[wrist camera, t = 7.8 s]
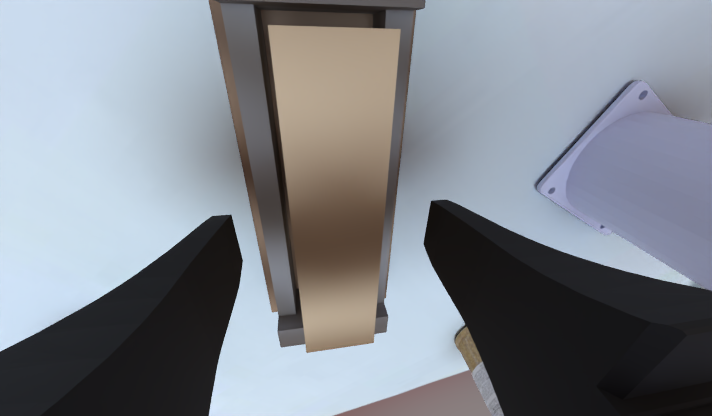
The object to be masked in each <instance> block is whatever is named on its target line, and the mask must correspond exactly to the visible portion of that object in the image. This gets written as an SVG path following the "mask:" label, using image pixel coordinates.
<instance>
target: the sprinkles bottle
mask: <svg viewBox="0 0 712 416" xmlns="http://www.w3.org/2000/svg"><path fill="white" fill-rule="evenodd" d="M455 344H456V347H457V348H458V349H459V351H460V352H461V354H462V355H463V358H464V360H465V361H466V363H467V365H468V367H469V369H470V371H471V373H472V377H473V379H474V381H475V383H476V385H477V387H478V389H479V391H480V393H481V395H482V397H483V399H484V401H485V403H486V405H487V407H488V409H489V411H490V413H491V415H492V416H504V414H503V412H502V409H501V407H500V404H499V401H498V399H497V396H496V394H495V391H494V389H493V386H492V383H491V381H490V378H489V376H488V374H487V371H486V369H485V367H484V364H483V362H482V359H481V357H480V355H479V352H478V350H477V348H476V346H475V343H474V341H473V339H472V337H471V335H470V332H469V330H468V328H467V327H465V328H464V329H463V330H462V331H461V332H460V333H459V334H458V335H457V337H456V340H455Z"/></svg>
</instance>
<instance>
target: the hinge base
mask: <svg viewBox="0 0 712 416" xmlns="http://www.w3.org/2000/svg"><path fill="white" fill-rule="evenodd" d="M209 5H210V10H211V14H212V19H213V24H214V29H215V34H216V39H217V44H218V49H219V54H220V59H221V64H222V69H223V73H224V78H225V83H226V88H227V93H228V98H229V103H230V108H231V113H232V118H233V123H234V128H235V132H236V137H237V142H238V147H239V152H240V157H241V162H242V167H243V172H244V177H245V182H246V187H247V191H248V196H249V201H250V206H251V211H252V216H253V221H254V226H255V231H256V236H257V241H258V246H259V250H260V255H261V260H262V265H263V270H264V275H265V280H266V285H267V290H268V295H269V300H270V305H271V310H272V312H278V315H279V320H278V336H279V341H280V346H281V347H287V346H294V345H301V344H305V335H304V327H303V319H302V310H301V302H300V293H299V285H298V276H297V268H296V259H295V251H294V243H293V234H292V226H291V217H290V209H289V200H288V192H287V183H286V175H285V166H284V158H283V150H282V141H281V133H280V124H279V116H278V107H277V99H276V90H275V82H274V73H273V65H272V57H271V48H270V40H269V31H268V25H285V26H317V27H349V28H380V29H401V32H400V43H399V55H398V67H397V78H396V90H395V101H394V113H393V124H392V136H391V147H390V159H389V170H388V182H387V193H386V205H385V216H384V228H383V239H382V251H381V262H380V274H379V286H378V297H377V309H376V320H375V332H374V334H377V333H384V332H386V330H387V321H388V314H387V311H386V308H385V305H384V298H386V290H387V281H388V271H389V262H390V252H391V243H392V233H393V224H394V214H395V205H396V196H397V186H398V177H399V167H400V158H401V148H402V139H403V129H404V120H405V111H406V101H407V92H408V82H409V73H410V63H411V54H412V44H413V35H414V25H415V16H416V10H419V9H423V8H425V0H209Z"/></svg>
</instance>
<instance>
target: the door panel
mask: <svg viewBox="0 0 712 416" xmlns="http://www.w3.org/2000/svg"><path fill="white" fill-rule="evenodd" d="M268 31H269V40H270V48H271V57H272V65H273V73H274V82H275V90H276V99H277V107H278V116H279V124H280V133H281V141H282V150H283V158H284V166H285V175H286V183H287V192H288V200H289V209H290V217H291V226H292V234H293V243H294V251H295V259H296V268H297V276H298V285H299V293H300V302H301V310H302V319H303V327H304V335H305V344H306V352H307V353H309V352H315V351H322V350H329V349H335V348H342V347H349V346H356V345H362V344H369V343H374V332H375V320H376V309H377V297H378V286H379V274H380V262H381V251H382V239H383V228H384V216H385V205H386V193H387V182H388V170H389V159H390V147H391V136H392V124H393V113H394V101H395V90H396V78H397V67H398V55H399V43H400V32H401V29H380V28H349V27H317V26H285V25H268Z"/></svg>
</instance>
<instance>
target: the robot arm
mask: <svg viewBox="0 0 712 416" xmlns="http://www.w3.org/2000/svg"><path fill="white" fill-rule="evenodd" d="M549 189H550V190H549ZM537 190H538V192H540V193H541V194H543V195H544V196H546V197H547V198H549V199H550V200H552V201H553V202H555V203H557V204H558V205H560V206H561V207H563V208H564V209H566V210H567V211H569V212H570V213H572V214H573V215H575V216H576V217H578V218H579V219H581V220H582V221H584V222H585V223H587V224H588V225H590V226H591V227H593V228H594V229H596V230H597V231H599V232H600V233H602V234H603V235H608V234H611V233H612V232H614V233H616V234H617V235H619V236H621V237H622V238H624V239H626V240H627V241H629V242H630V243H632V244H634V245H635V246H637V247H639V248H640V249H642V250H643V251H645V252H647V253H648V254H650V255H652V256H653V257H655V258H656V259H658V260H660V261H661V262H663V263H665V264H666V265H668V266H669V267H671V268H673V269H674V270H676V271H677V272H679V273H681V274H682V275H684V276H686V277H687V278H689V279H690V280H692V281H694V282H695V283H697V284H699V285H700V286H702V287H703V288H705V289H701V288H696V287H691V286H686V285H682V284H677V283H672V282H667V281H662V280H658V279H654V278H650V277H646V276H642V275H638V274H634V273H630V272H626V271H622V270H619V269H615V268H611V267H608V266H604V265H601V264H598V263H595V262H591V261H588V260H585V259H582V258H578V257H575V256H573V255H570V254H567V253H564V252H561V251H558V250H556V249H553V248H550V247H548V246H545V245H543V244H540V243H537V242H535V241H533V240H530V239H528V238H526V237H523V236H521V235H519V234H517V233H515V232H512V231H510V230H508V229H506V228H504V227H502V226H500V225H498V224H496V223H494V222H492V221H490V220H488V219H486V218H484V217H482V216H480V215H478V214H476V213H474V212H472V211H470V210H468V209H466V208H464V207H462V206H460V205H458V204H456V203H453V202H451V201H448V200H435V201H431V205H430V210H429V216H428V221H427V227H426V233H425V238H424V246H425V249H426V252H427V254H428V257H429V259H430V262H431V264H432V266H433V268H434V270H435V272H436V273H437V275H438V277H439V279H440V280H441V282H442V284H443V286H444V287H445V289H446V291H447V292H448V294H449V296H450V297H451V299H452V301H453V303H454V304H455V306H456V308H457V309H458V311H459V313H460V315H461V316H462V318H463V320H464V322H465V324H466V326H467V328H468V330H469V332H470V335H471V337H472V339H473V341H474V343H475V346H476V348H477V350H478V352H479V355H480V357H481V359H482V362H483V364H484V367H485V369H486V371H487V374H488V376H489V378H490V381H491V383H492V386H493V389H494V391H495V394H496V396H497V399H498V401H499V404H500V407H501V409H502V412H503V414H504V416H712V124H709V123H704V122H700V121H695V120H690V119H685V118H680V117H675V116H673V115H672V114H671V112H670V111H669V110H668V109H667V107H666V106H665V105H664V104H663V103H662V101H661V100H660V99H659V98H658V96H657V95H656V94H655V93H654V91H653V90H652V89H651V88H650V86H649V85H648V84H647V83H646V82H645V81H634V82H632V83H631V84H630V85H629V86H628V87H627V88H626V89H625V90H624V91H623V93H622V94H621V95H620V96H619V97H618V98H617V99H616V100H615V101H614V102H613V103H612V104H611V106H610V107H609V108H608V109H607V110H606V111H605V112H604V113H603V114H602V115H601V116H600V117H599V119H598V120H597V121H596V122H595V123H594V124H593V125H592V126H591V127H590V128H589V129H588V130H587V132H586V133H585V134H584V135H583V136H582V137H581V138H580V139H579V140H578V141H577V142H576V143H575V144H574V146H573V147H572V148H571V149H570V150H569V151H568V152H567V153H566V154H565V155H564V156H563V157H562V159H561V160H560V161H559V162H558V163H557V164H556V165H555V166H554V167H553V168H552V169H551V170H550V172H549V173H548V174H547V175H546V176H545V177H544V178H543V179H542V180H541V181H540V182H539V184H538V186H537ZM242 262H243V260H242V256H241V252H240V248H239V244H238V240H237V236H236V232H235V228H234V224H233V220H232V216H231V215H221V216H212V217H210V218H209V219H207V220H206V221H205V222H204V223H202V224H201V225H200V226H199V227H197V228H196V229H195V230H194V231H192V232H191V233H190V234H189V235H187V236H186V237H185V238H184V239H182V240H181V241H180V242H179V243H177V244H176V245H175V246H174V247H172V248H171V249H170V250H169V251H167V252H166V253H165V254H163V255H162V256H161V257H159V258H158V259H157V260H155V261H154V262H152V263H151V264H150V265H148V266H147V267H146V268H144V269H143V270H142V271H140V272H139V273H138V274H136V275H135V276H133V277H132V278H130V279H129V280H127V281H126V282H124V283H123V284H121V285H120V286H118V287H116V288H115V289H113V290H112V291H110V292H108V293H107V294H105V295H104V296H102V297H100V298H99V299H97V300H96V301H94V302H92V303H91V304H89V305H87V306H85V307H83V308H82V309H80V310H78V311H76V312H74V313H73V314H71V315H69V316H67V317H65V318H64V319H62V320H60V321H58V322H56V323H55V324H53V325H51V326H49V327H47V328H46V329H44V330H42V331H40V332H38V333H36V334H34V335H32V336H30V337H28V338H26V339H25V340H23V341H21V342H19V343H17V344H15V345H13V346H11V347H9V348H7V349H5V350H3V351H1V352H0V416H209V409H210V403H211V397H212V392H213V386H214V381H215V375H216V370H217V364H218V360H219V356H220V352H221V348H222V344H223V341H224V337H225V334H226V330H227V327H228V324H229V320H230V317H231V313H232V310H233V306H234V303H235V299H236V296H237V292H238V289H239V284H240V277H241V270H242ZM706 289H707V290H706Z"/></svg>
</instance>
